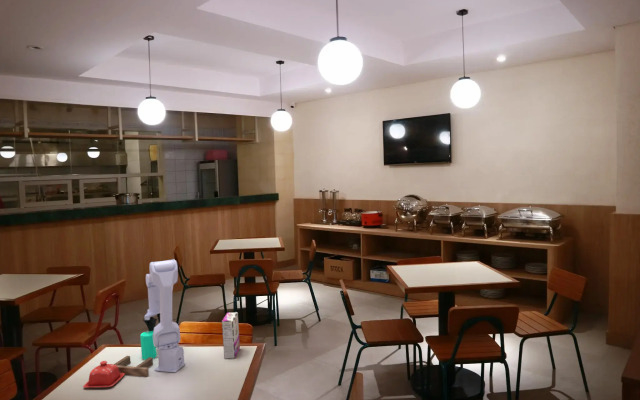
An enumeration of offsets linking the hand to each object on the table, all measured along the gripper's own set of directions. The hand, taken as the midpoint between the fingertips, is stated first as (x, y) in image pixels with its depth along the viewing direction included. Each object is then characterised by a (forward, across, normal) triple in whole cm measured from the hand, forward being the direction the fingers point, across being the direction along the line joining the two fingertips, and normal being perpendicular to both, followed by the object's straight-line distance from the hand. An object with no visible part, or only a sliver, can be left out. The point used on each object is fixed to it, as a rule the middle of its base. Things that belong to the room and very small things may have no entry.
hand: (157, 330), depth 205 cm
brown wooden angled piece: (+8, +19, +1) cm, 21 cm away
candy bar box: (+9, -1, +35) cm, 36 cm away
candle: (+9, +8, +1) cm, 12 cm away
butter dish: (+9, +32, -3) cm, 33 cm away
